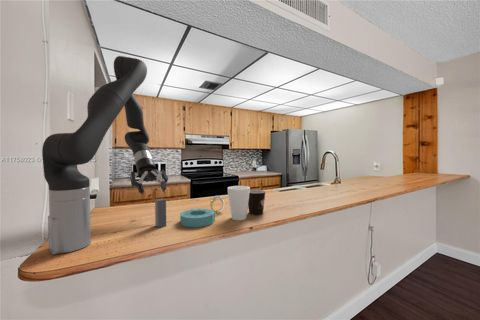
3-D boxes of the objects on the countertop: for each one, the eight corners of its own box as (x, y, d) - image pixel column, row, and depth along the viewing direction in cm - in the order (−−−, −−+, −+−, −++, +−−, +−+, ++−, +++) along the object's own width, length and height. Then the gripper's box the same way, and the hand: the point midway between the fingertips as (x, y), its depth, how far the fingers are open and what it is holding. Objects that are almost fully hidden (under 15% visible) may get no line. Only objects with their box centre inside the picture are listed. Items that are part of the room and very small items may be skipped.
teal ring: (195, 229, 74) (194, 220, 74) (173, 222, 82) (173, 213, 82) (221, 220, 84) (221, 212, 84) (199, 214, 92) (199, 207, 92)
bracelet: (211, 214, 93) (211, 196, 93) (209, 212, 96) (209, 195, 95) (225, 212, 96) (225, 195, 96) (223, 210, 99) (223, 194, 98)
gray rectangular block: (158, 227, 76) (157, 200, 76) (155, 225, 78) (155, 199, 78) (166, 225, 78) (165, 199, 78) (163, 223, 80) (163, 198, 80)
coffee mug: (253, 216, 89) (253, 193, 89) (243, 212, 96) (243, 190, 96) (274, 213, 94) (274, 191, 94) (263, 208, 102) (263, 188, 102)
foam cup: (254, 218, 87) (254, 187, 87) (238, 223, 81) (238, 190, 81) (239, 213, 94) (239, 185, 94) (223, 217, 88) (223, 187, 88)
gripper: (128, 156, 85) (136, 187, 77) (162, 156, 95) (173, 184, 86) (125, 169, 89) (132, 199, 81) (158, 167, 99) (168, 194, 90)
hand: (153, 191), depth 84 cm, fingers open, 8 cm apart
